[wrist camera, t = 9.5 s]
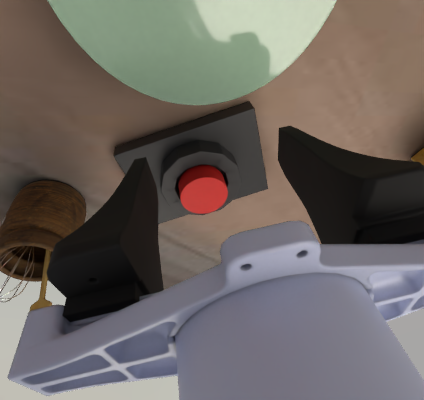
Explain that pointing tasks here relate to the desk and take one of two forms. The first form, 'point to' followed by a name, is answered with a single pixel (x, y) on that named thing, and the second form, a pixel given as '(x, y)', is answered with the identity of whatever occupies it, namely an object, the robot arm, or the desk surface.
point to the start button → (202, 189)
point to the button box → (201, 156)
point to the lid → (193, 42)
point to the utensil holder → (38, 231)
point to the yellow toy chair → (419, 157)
